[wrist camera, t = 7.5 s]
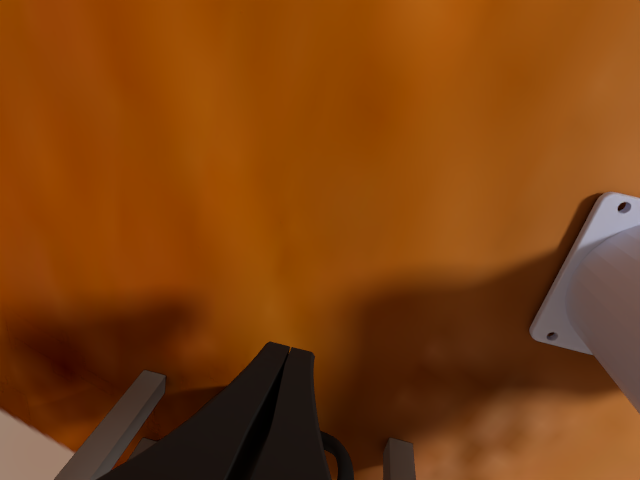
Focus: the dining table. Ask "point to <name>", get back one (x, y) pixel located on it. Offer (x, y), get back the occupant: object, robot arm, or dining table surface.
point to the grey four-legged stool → (127, 421)
